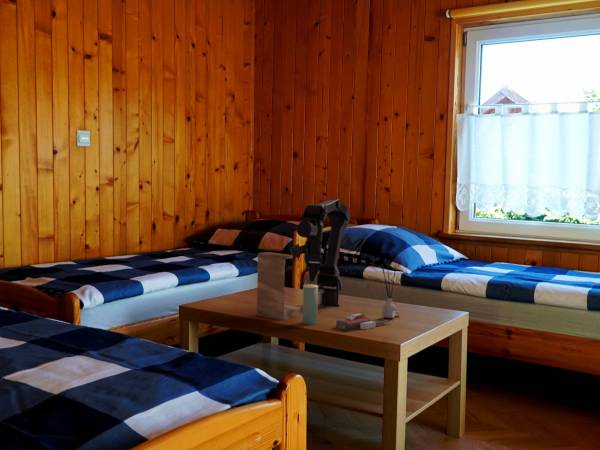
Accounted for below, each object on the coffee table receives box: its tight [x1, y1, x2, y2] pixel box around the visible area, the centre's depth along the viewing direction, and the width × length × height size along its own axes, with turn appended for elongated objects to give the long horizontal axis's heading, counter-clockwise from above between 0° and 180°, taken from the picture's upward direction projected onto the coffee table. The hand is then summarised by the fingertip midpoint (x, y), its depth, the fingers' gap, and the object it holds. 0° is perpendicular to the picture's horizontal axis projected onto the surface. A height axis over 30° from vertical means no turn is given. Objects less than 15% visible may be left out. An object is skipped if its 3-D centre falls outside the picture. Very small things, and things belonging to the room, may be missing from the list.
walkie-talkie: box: [335, 313, 389, 332], centre depth 220 cm, size 9×4×20 cm
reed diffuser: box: [381, 263, 401, 319], centre depth 233 cm, size 10×7×20 cm
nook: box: [256, 251, 303, 321], centre depth 233 cm, size 11×12×22 cm
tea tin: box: [302, 284, 319, 326], centre depth 222 cm, size 5×5×13 cm
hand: (311, 281), depth 236 cm, fingers open, 9 cm apart
